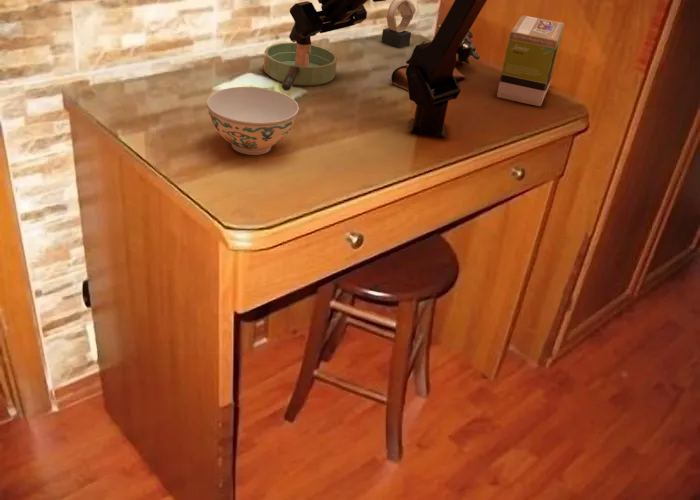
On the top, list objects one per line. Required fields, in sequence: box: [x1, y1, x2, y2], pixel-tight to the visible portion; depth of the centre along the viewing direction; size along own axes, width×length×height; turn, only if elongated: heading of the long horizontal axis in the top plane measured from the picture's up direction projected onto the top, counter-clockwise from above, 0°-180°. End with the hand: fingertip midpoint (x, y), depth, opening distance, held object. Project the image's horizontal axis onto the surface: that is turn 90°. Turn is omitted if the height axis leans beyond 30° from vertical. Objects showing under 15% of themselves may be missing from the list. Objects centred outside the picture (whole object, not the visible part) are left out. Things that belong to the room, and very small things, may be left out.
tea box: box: [496, 14, 565, 107], centre depth 159 cm, size 15×10×15 cm, turn 160°
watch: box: [381, 0, 416, 49], centre depth 179 cm, size 6×8×11 cm
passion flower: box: [420, 24, 481, 65], centre depth 170 cm, size 11×11×12 cm
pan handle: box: [281, 66, 299, 92], centre depth 144 cm, size 11×2×2 cm, turn 174°
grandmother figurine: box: [291, 37, 312, 66], centre depth 153 cm, size 8×4×13 cm, turn 42°
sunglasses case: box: [390, 64, 467, 92], centre depth 161 cm, size 18×7×7 cm, turn 139°
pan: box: [263, 42, 338, 87], centre depth 155 cm, size 15×15×4 cm
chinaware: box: [206, 86, 300, 156], centre depth 123 cm, size 15×15×8 cm
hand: (305, 34), depth 152 cm, fingers open, 9 cm apart
